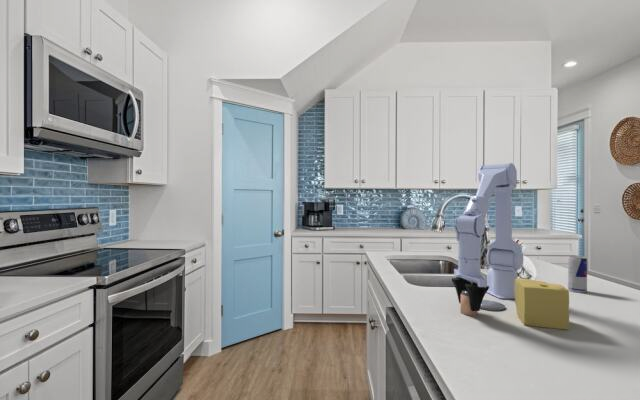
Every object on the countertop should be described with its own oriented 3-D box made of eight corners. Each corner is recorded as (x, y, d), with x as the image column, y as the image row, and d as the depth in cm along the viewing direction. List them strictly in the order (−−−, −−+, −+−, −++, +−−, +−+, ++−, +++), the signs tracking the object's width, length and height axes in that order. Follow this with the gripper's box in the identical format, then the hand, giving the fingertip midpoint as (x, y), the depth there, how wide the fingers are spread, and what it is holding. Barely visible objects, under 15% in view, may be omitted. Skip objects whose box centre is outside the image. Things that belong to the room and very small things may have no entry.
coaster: (466, 302, 109) (466, 300, 109) (493, 301, 110) (493, 299, 110) (481, 311, 100) (481, 309, 100) (511, 310, 101) (511, 308, 101)
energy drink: (590, 293, 121) (590, 258, 121) (572, 292, 122) (572, 257, 122) (581, 289, 126) (582, 256, 126) (565, 288, 127) (565, 255, 127)
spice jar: (457, 310, 100) (457, 289, 100) (472, 310, 101) (472, 289, 101) (465, 315, 96) (465, 293, 96) (480, 315, 96) (480, 293, 96)
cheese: (557, 317, 95) (557, 280, 95) (571, 331, 85) (571, 290, 85) (514, 313, 99) (514, 277, 99) (522, 326, 88) (522, 286, 88)
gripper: (444, 254, 105) (444, 299, 105) (468, 262, 91) (468, 315, 91) (467, 254, 106) (466, 299, 106) (494, 262, 91) (494, 315, 91)
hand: (469, 306), depth 98 cm, fingers open, 6 cm apart
